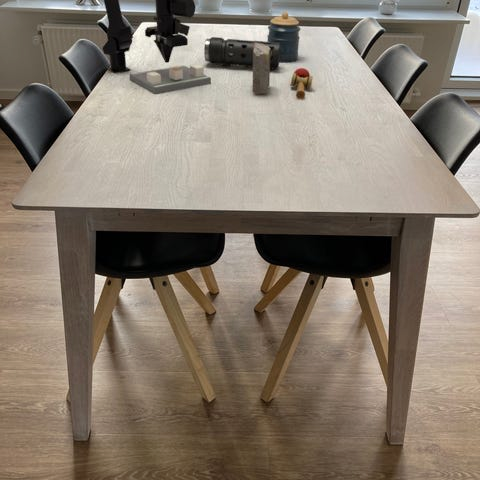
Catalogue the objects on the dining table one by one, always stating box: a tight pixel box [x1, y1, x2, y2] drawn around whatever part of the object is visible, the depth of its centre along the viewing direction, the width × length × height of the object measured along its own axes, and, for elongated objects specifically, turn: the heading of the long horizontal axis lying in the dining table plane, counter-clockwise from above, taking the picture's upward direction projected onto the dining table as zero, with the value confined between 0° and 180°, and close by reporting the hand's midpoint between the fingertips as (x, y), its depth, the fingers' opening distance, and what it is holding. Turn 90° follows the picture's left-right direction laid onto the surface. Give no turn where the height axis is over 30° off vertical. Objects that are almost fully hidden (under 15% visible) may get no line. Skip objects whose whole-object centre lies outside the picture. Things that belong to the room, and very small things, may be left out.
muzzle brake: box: [203, 36, 281, 71], centre depth 197 cm, size 10×28×10 cm, turn 82°
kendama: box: [290, 67, 313, 100], centre depth 177 cm, size 8×6×18 cm
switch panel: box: [129, 64, 212, 95], centre depth 181 cm, size 18×22×5 cm
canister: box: [266, 11, 301, 63], centre depth 208 cm, size 13×13×18 cm
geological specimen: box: [252, 42, 272, 94], centre depth 173 cm, size 11×6×15 cm, turn 173°
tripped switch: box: [168, 66, 183, 80], centre depth 177 cm, size 4×3×3 cm
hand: (167, 62), depth 180 cm, fingers closed
